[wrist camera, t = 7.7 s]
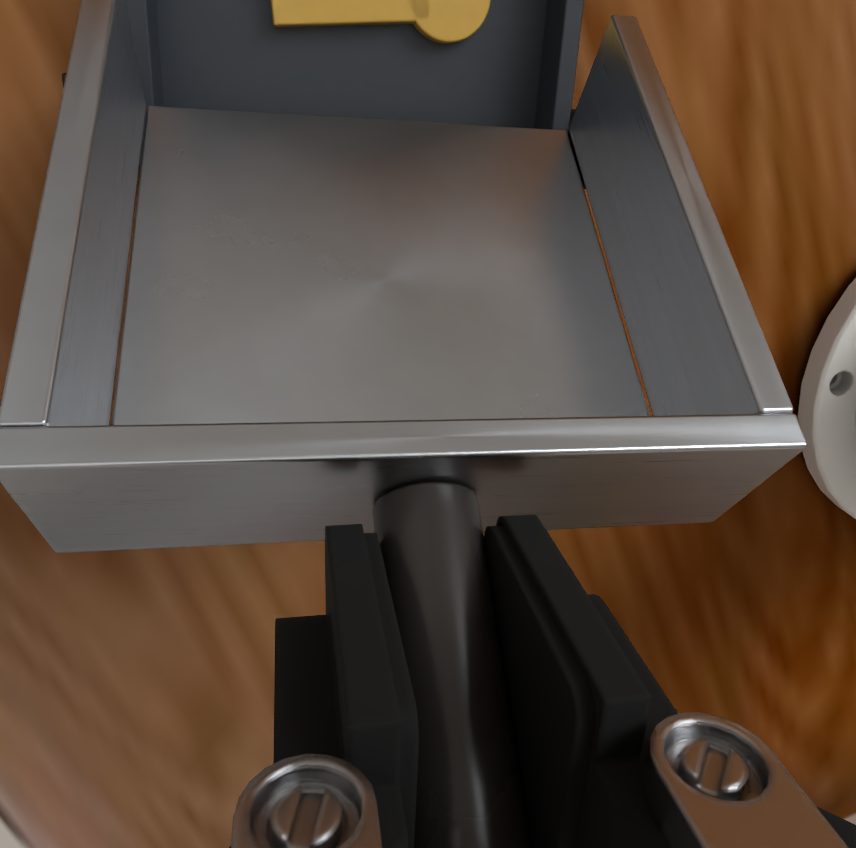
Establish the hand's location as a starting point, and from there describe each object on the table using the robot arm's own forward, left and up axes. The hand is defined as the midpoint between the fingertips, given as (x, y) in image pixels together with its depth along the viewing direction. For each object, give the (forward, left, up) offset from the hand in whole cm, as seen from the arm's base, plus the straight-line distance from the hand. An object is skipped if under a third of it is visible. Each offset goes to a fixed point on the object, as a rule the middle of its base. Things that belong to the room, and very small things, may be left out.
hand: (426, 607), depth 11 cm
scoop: (0, -1, -4) cm, 4 cm away
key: (0, -10, -12) cm, 15 cm away
